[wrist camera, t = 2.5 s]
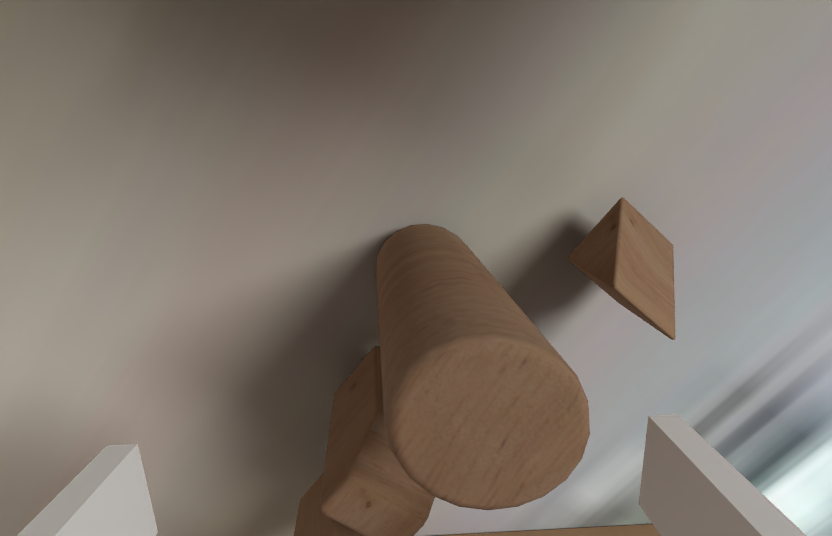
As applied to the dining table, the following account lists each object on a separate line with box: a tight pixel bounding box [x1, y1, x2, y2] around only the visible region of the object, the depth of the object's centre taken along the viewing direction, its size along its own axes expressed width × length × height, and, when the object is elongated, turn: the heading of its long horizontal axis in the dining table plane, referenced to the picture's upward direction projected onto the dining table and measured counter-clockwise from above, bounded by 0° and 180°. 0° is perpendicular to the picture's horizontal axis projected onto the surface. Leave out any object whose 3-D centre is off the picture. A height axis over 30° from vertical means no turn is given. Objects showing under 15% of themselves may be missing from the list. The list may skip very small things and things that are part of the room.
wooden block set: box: [294, 198, 675, 536], centre depth 14 cm, size 18×9×10 cm, turn 141°
